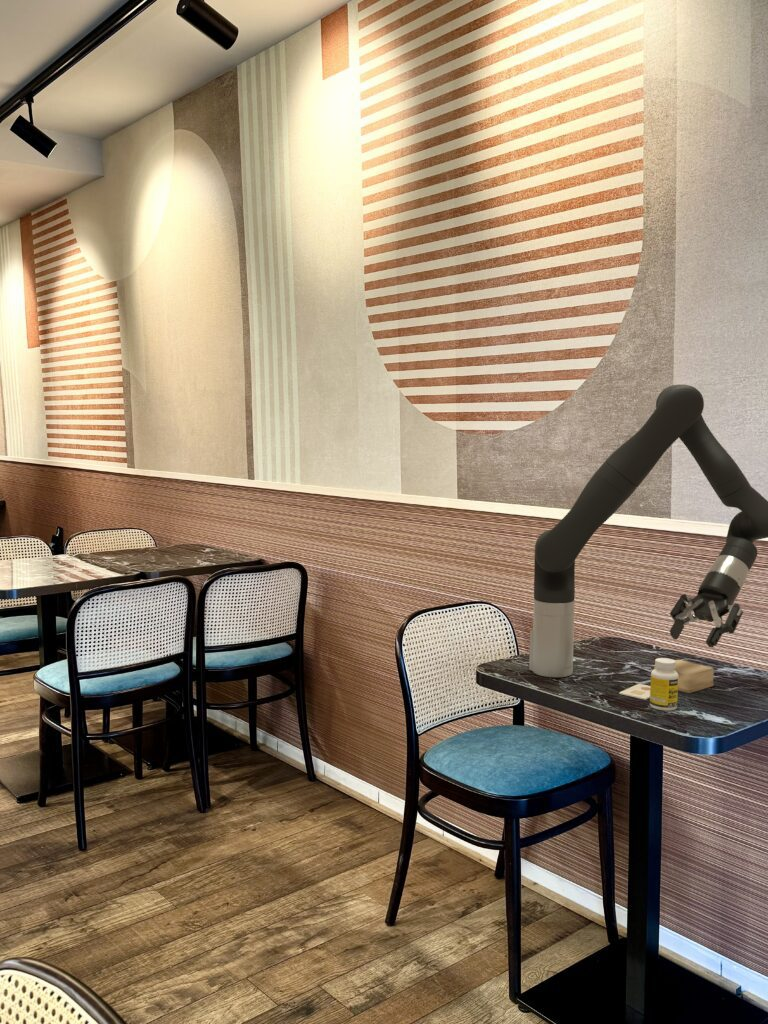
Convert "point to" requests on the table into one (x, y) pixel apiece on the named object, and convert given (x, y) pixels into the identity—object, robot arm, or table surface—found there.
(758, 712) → the table surface
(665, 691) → the supplement bottle
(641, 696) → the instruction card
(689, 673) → the beech block
